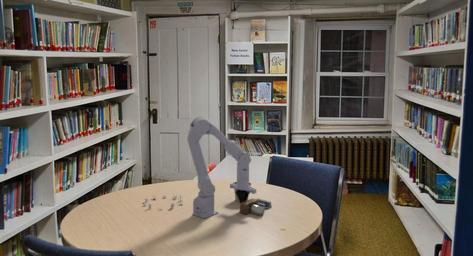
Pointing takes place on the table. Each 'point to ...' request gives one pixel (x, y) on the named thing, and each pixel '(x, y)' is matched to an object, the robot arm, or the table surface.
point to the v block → (264, 203)
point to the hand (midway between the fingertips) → (242, 205)
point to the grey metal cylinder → (256, 209)
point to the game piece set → (163, 197)
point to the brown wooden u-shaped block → (245, 205)
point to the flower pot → (236, 194)
